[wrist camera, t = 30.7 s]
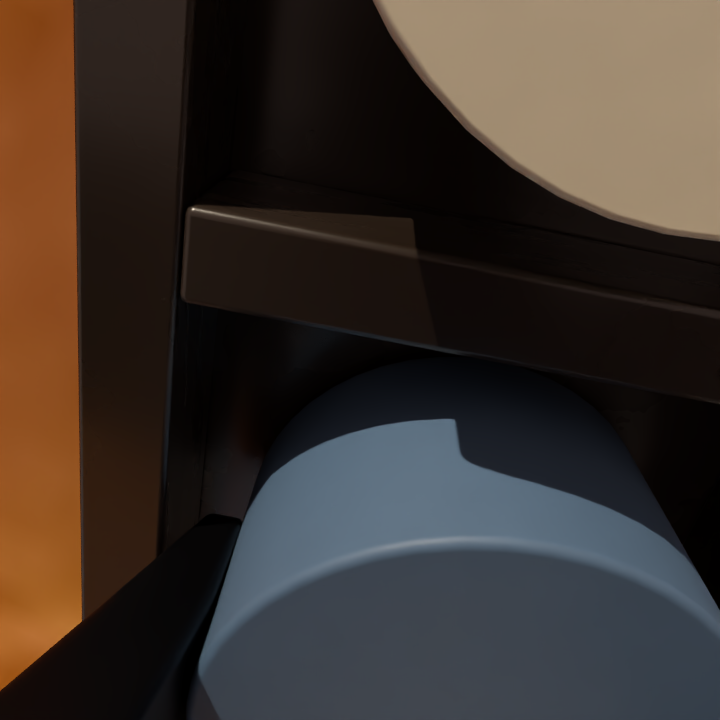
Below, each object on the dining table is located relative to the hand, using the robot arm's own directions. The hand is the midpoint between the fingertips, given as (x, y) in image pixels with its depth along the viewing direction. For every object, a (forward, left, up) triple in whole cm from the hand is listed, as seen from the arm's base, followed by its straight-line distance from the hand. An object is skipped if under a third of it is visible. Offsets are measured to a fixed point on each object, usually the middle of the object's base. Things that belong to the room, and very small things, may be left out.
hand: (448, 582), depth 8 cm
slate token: (0, 0, -1) cm, 1 cm away
